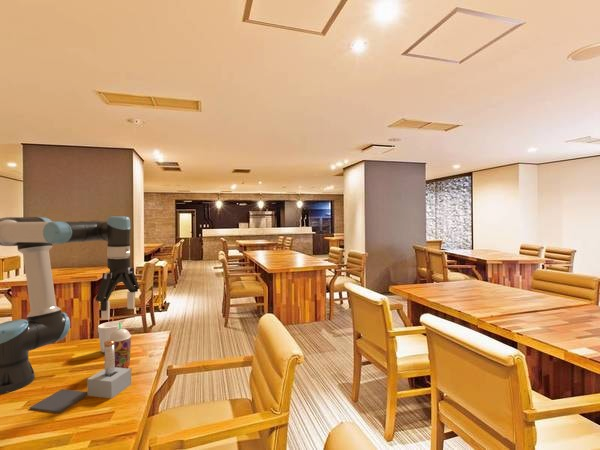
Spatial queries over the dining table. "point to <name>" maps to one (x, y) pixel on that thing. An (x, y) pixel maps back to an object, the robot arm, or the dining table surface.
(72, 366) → the dining table surface
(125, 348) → the smoothie
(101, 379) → the eye block
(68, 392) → the mat
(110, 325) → the cup
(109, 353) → the peg
